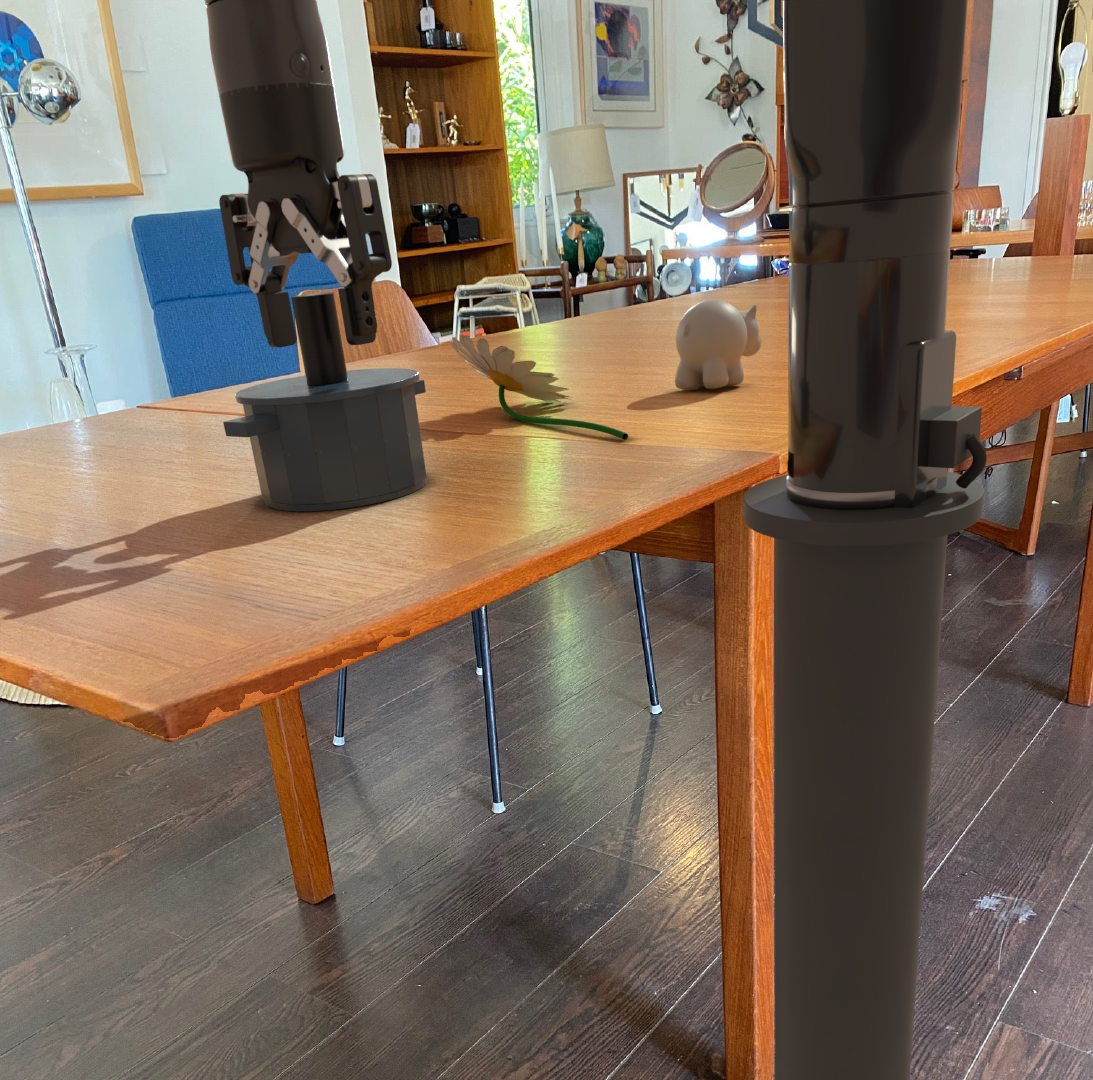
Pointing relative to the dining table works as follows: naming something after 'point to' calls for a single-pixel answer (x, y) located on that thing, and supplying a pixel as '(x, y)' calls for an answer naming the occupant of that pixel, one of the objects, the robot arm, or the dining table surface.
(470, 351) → the flower
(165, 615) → the dining table surface
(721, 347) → the chubby cartoon animal
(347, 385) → the lid
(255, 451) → the pot
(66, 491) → the dining table surface
